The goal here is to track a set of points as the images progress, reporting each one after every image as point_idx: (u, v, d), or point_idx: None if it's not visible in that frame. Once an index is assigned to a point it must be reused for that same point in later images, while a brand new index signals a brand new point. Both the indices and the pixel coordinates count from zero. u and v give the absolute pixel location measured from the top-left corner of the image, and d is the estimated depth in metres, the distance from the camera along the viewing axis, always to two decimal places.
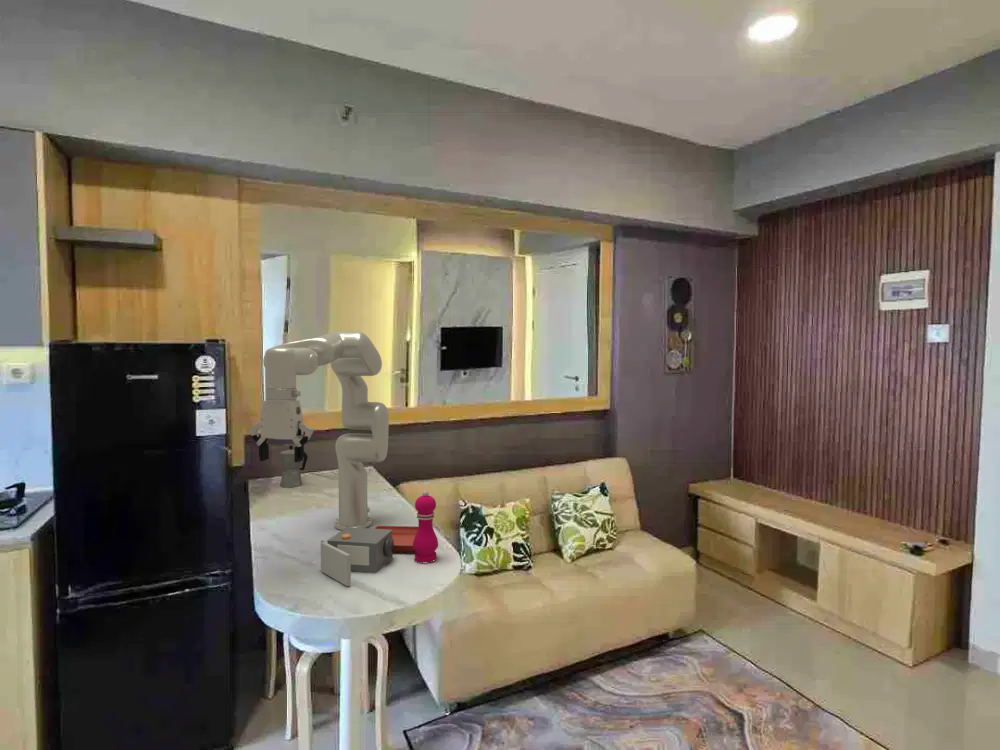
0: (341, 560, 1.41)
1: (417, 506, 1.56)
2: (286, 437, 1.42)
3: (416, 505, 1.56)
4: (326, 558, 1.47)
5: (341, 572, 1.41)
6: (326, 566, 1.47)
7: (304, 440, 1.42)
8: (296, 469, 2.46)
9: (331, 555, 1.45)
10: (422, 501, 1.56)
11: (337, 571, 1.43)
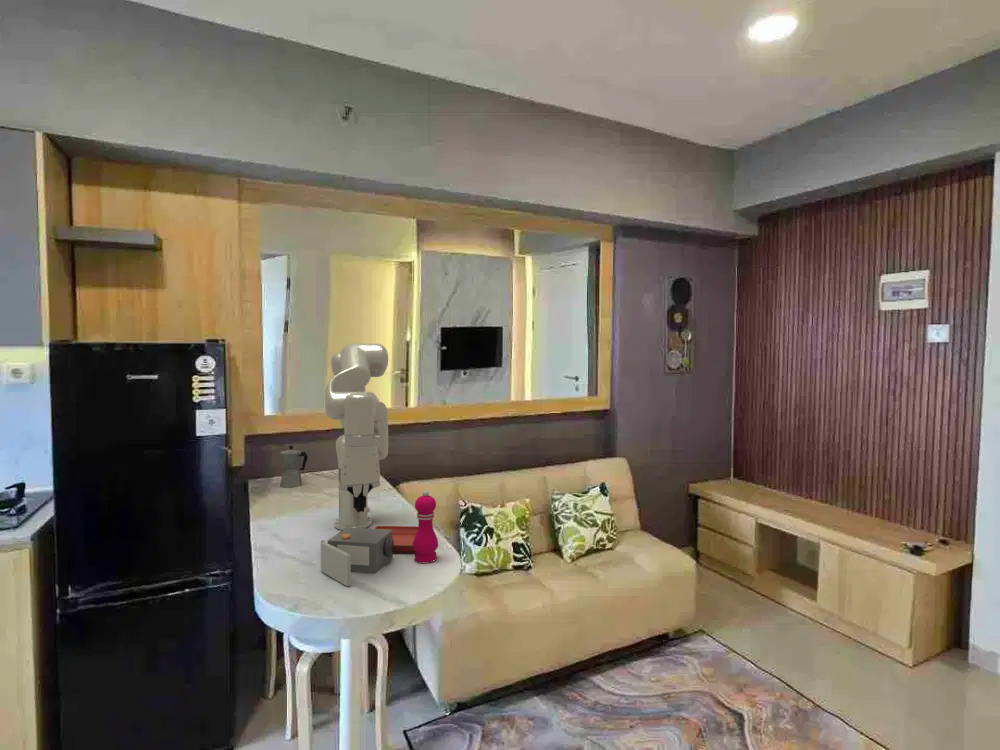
0: (341, 560, 1.41)
1: (417, 506, 1.56)
2: (371, 482, 1.44)
3: (416, 505, 1.56)
4: (326, 558, 1.47)
5: (341, 572, 1.41)
6: (326, 566, 1.47)
7: (370, 489, 1.45)
8: (296, 469, 2.46)
9: (331, 555, 1.45)
10: (422, 501, 1.56)
11: (337, 571, 1.43)
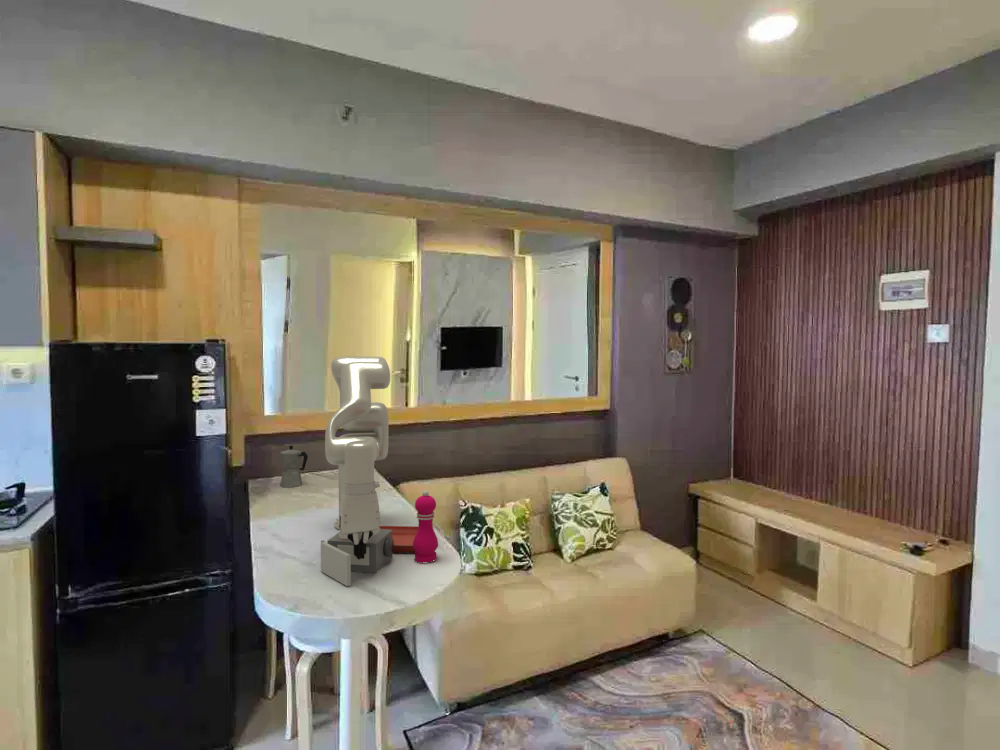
0: (341, 560, 1.41)
1: (417, 506, 1.56)
2: (371, 529, 1.45)
3: (416, 505, 1.56)
4: (326, 558, 1.47)
5: (341, 572, 1.41)
6: (326, 566, 1.47)
7: (370, 535, 1.46)
8: (296, 469, 2.46)
9: (331, 555, 1.45)
10: (422, 501, 1.56)
11: (337, 571, 1.43)
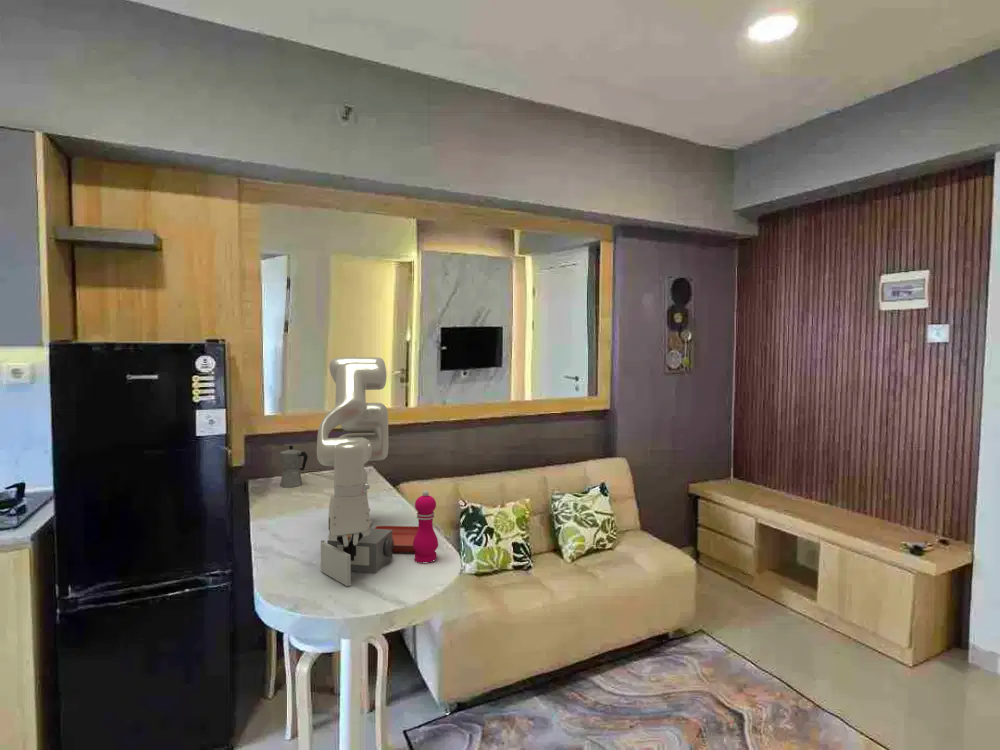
0: (341, 560, 1.41)
1: (417, 506, 1.56)
2: (361, 531, 1.44)
3: (416, 505, 1.56)
4: (326, 558, 1.47)
5: (341, 572, 1.41)
6: (326, 566, 1.47)
7: (360, 537, 1.45)
8: (296, 469, 2.46)
9: (331, 555, 1.45)
10: (422, 501, 1.56)
11: (337, 571, 1.43)
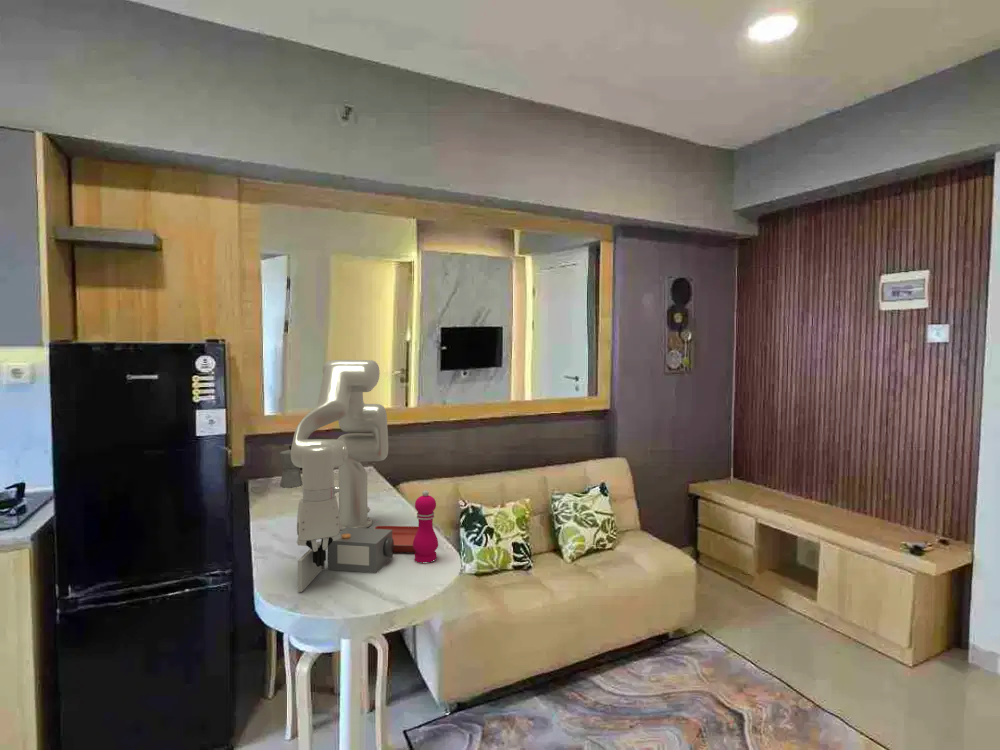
0: None
1: (417, 506, 1.56)
2: (331, 535, 1.40)
3: (416, 505, 1.56)
4: None
5: None
6: None
7: (329, 542, 1.42)
8: (296, 469, 2.46)
9: None
10: (422, 501, 1.56)
11: None
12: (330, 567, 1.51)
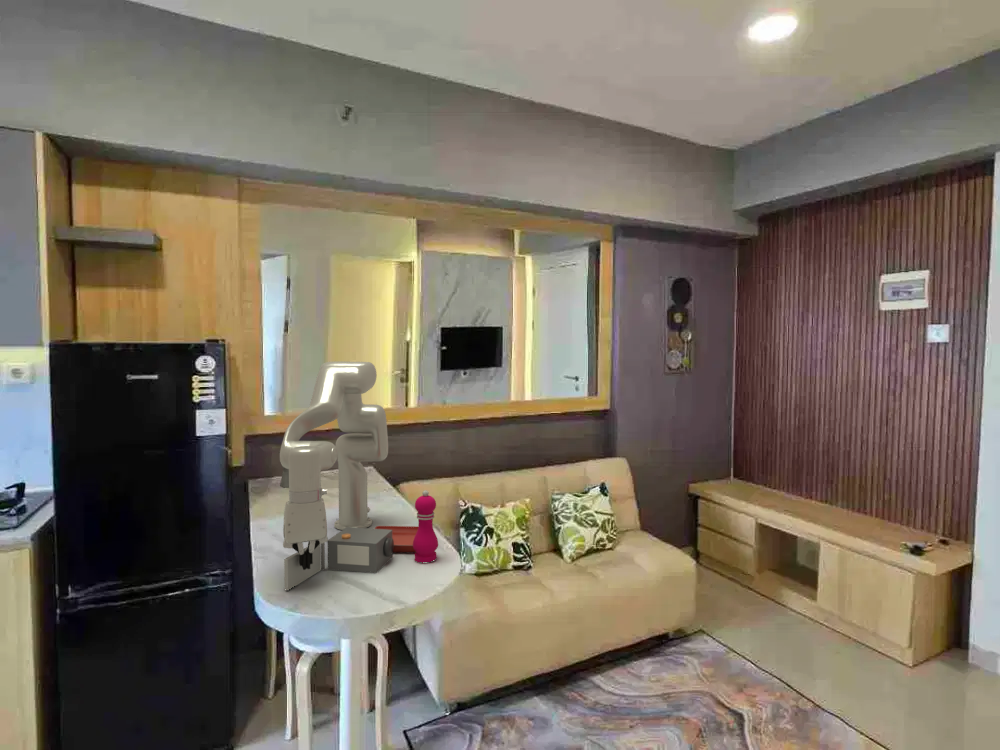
0: None
1: (417, 506, 1.56)
2: (318, 538, 1.39)
3: (416, 505, 1.56)
4: None
5: None
6: None
7: (316, 545, 1.40)
8: None
9: None
10: (422, 501, 1.56)
11: None
12: (330, 567, 1.51)
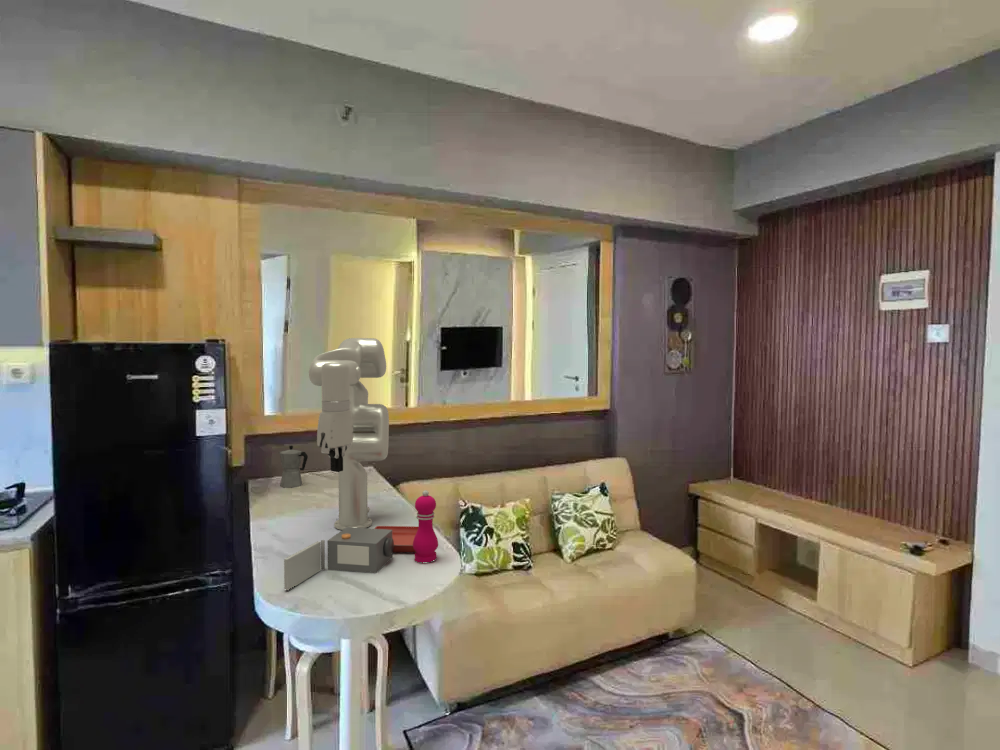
0: None
1: (417, 506, 1.56)
2: (348, 443, 1.57)
3: (416, 505, 1.56)
4: None
5: None
6: None
7: (345, 449, 1.58)
8: (296, 469, 2.46)
9: None
10: (422, 501, 1.56)
11: None
12: (330, 567, 1.51)
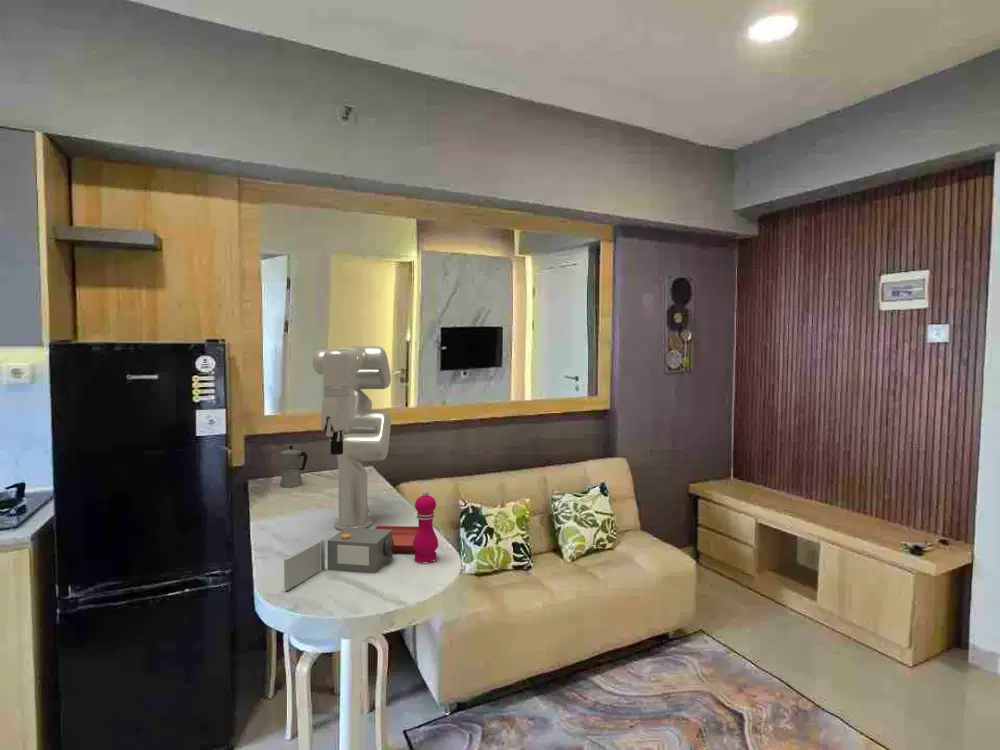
0: None
1: (417, 506, 1.56)
2: (347, 427, 1.66)
3: (416, 505, 1.56)
4: None
5: None
6: None
7: None
8: (296, 469, 2.46)
9: None
10: (422, 501, 1.56)
11: None
12: (330, 567, 1.51)
